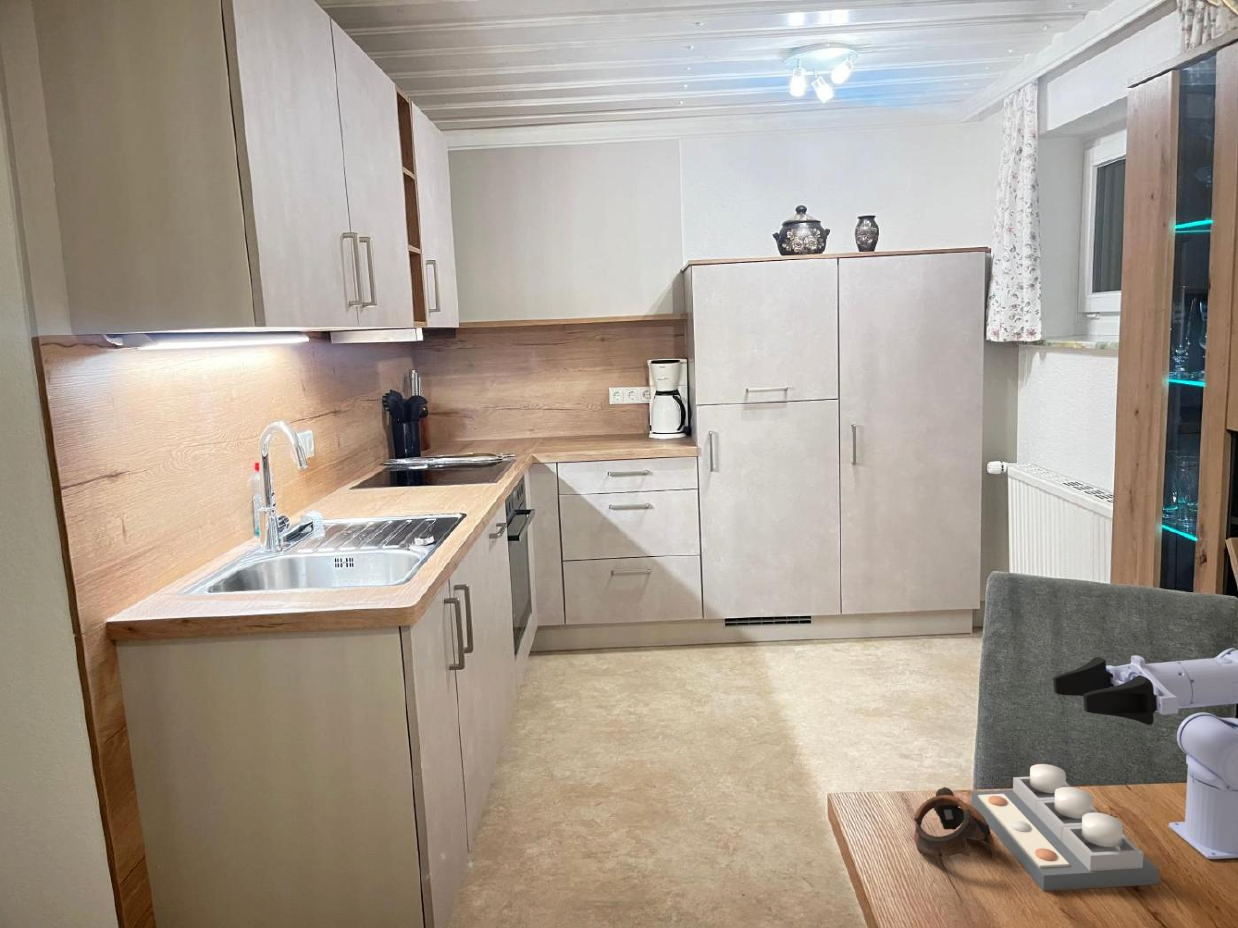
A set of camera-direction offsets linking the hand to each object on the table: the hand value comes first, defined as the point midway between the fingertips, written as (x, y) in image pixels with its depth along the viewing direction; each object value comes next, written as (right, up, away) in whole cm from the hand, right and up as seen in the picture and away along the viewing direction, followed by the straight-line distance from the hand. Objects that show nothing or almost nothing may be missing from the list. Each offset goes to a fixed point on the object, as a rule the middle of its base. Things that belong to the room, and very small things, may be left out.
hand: (1069, 693), depth 113 cm
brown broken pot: (-13, -21, +3) cm, 25 cm away
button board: (0, -20, +4) cm, 21 cm away
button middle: (+2, -16, +4) cm, 17 cm away
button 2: (+3, -17, -3) cm, 17 cm away
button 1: (+2, -15, +10) cm, 18 cm away
